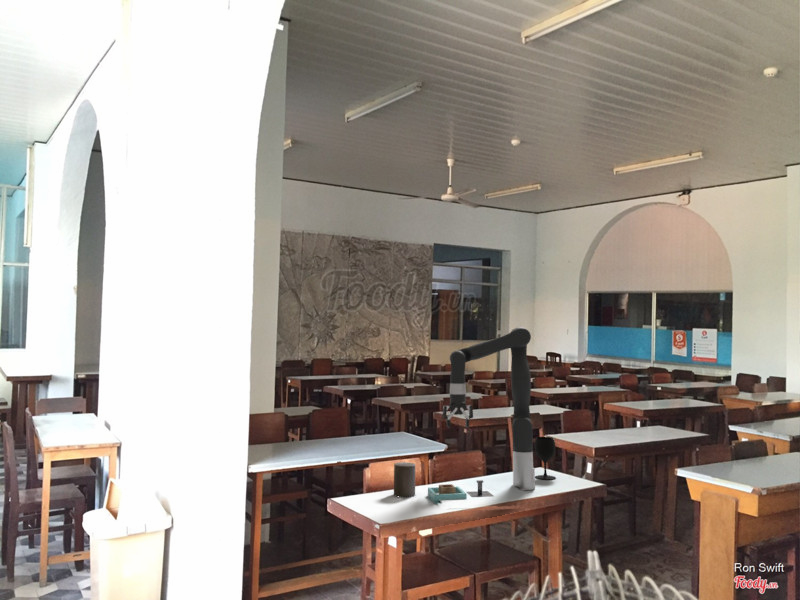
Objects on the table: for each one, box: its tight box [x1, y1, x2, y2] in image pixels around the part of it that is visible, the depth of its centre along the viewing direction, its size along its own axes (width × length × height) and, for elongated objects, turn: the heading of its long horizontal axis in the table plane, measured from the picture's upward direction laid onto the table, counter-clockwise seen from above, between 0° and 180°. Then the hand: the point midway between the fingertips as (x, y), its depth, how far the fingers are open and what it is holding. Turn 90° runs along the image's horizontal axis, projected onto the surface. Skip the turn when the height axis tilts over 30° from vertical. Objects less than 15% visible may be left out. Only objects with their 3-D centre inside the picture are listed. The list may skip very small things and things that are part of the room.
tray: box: [427, 486, 468, 504], centre depth 279 cm, size 14×14×4 cm
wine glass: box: [533, 436, 557, 481], centre depth 322 cm, size 10×10×20 cm
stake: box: [466, 479, 494, 498], centre depth 281 cm, size 10×10×7 cm
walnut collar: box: [438, 483, 456, 494], centre depth 279 cm, size 6×6×4 cm
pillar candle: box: [393, 461, 417, 498], centre depth 286 cm, size 10×10×15 cm
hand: (457, 427), depth 301 cm, fingers open, 8 cm apart
